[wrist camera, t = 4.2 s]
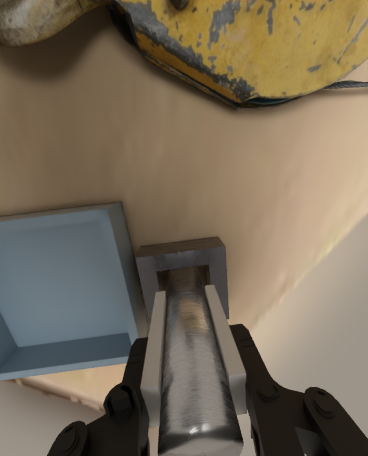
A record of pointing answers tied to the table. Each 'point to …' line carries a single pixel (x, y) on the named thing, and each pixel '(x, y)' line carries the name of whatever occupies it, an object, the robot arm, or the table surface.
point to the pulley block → (222, 41)
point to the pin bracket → (182, 266)
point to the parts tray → (67, 291)
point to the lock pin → (194, 377)
